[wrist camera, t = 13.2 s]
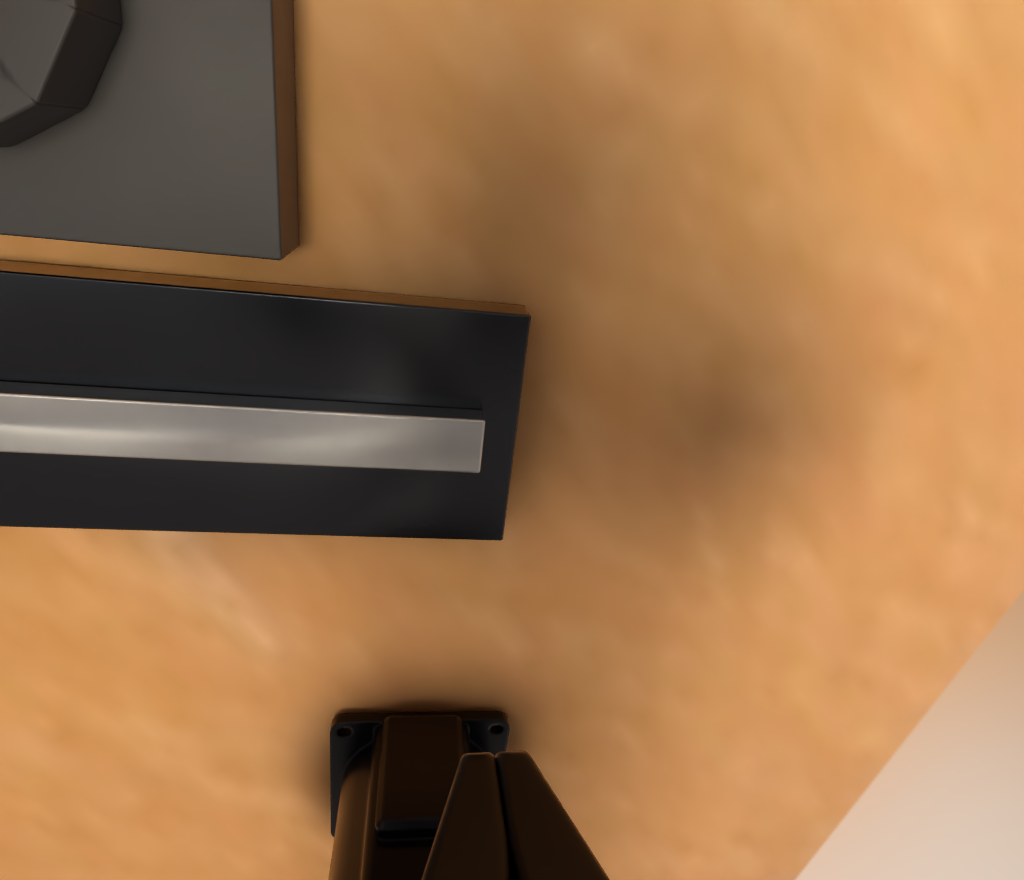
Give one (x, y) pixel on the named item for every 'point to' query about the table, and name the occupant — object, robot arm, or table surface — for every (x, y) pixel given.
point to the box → (150, 124)
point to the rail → (253, 406)
